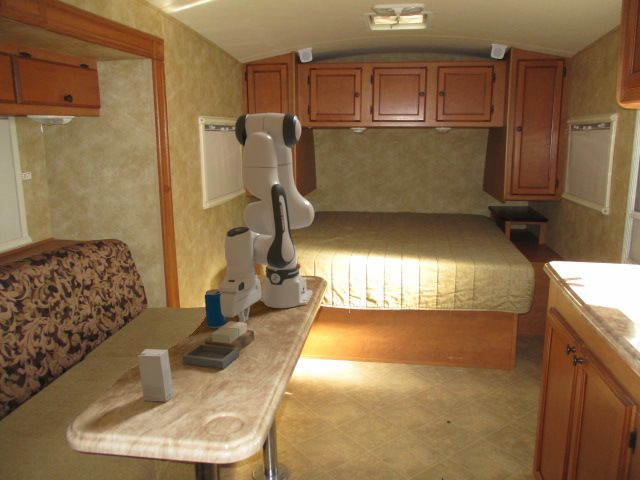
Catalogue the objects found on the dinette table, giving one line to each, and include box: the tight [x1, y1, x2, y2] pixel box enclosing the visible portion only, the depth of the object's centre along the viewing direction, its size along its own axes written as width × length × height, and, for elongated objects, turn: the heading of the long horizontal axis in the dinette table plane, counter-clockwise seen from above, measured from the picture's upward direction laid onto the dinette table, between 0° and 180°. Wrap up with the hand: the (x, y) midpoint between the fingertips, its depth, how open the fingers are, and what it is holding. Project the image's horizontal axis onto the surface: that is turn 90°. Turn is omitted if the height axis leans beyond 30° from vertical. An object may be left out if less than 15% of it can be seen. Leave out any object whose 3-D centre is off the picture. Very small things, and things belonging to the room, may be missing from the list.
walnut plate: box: [204, 329, 255, 353], centre depth 158 cm, size 12×10×3 cm
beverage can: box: [204, 288, 227, 329], centre depth 174 cm, size 6×6×12 cm
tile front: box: [211, 328, 238, 344], centre depth 155 cm, size 5×6×2 cm
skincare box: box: [137, 348, 174, 403], centre depth 127 cm, size 6×4×12 cm
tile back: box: [221, 320, 248, 337], centre depth 160 cm, size 5×6×2 cm
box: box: [181, 343, 240, 371], centre depth 148 cm, size 9×13×2 cm
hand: (243, 321), depth 166 cm, fingers closed
